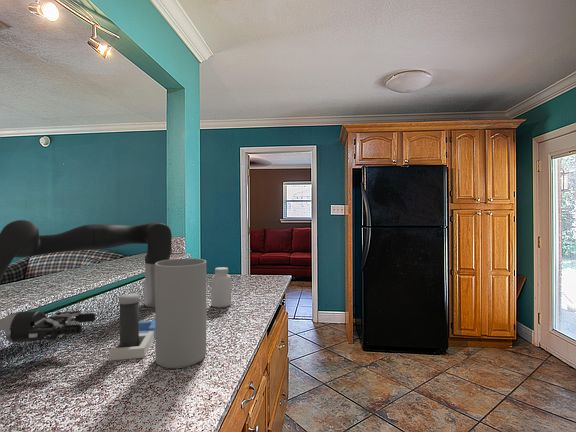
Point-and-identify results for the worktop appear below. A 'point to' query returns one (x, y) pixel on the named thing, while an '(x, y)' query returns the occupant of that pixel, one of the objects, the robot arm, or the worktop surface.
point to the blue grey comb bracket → (137, 351)
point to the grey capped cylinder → (129, 320)
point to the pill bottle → (221, 288)
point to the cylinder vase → (180, 312)
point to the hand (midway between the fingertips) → (88, 322)
